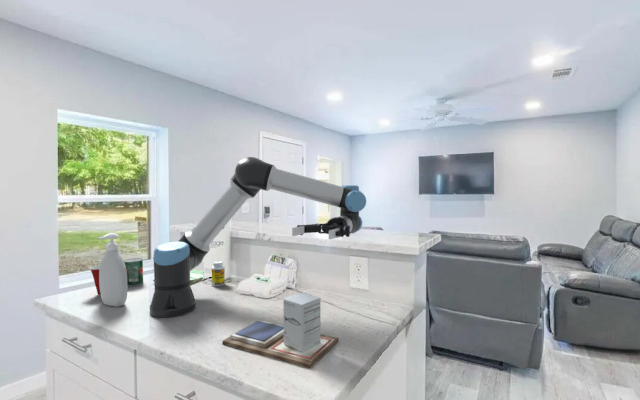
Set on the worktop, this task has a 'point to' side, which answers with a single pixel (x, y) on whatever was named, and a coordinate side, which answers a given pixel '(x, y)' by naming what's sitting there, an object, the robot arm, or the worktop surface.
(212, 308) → the worktop surface
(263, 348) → the stamping board
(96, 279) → the plastic cup
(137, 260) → the canned tomato
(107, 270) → the soap bottle
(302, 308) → the supplement box
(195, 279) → the dish towel
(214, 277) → the supplement bottle
